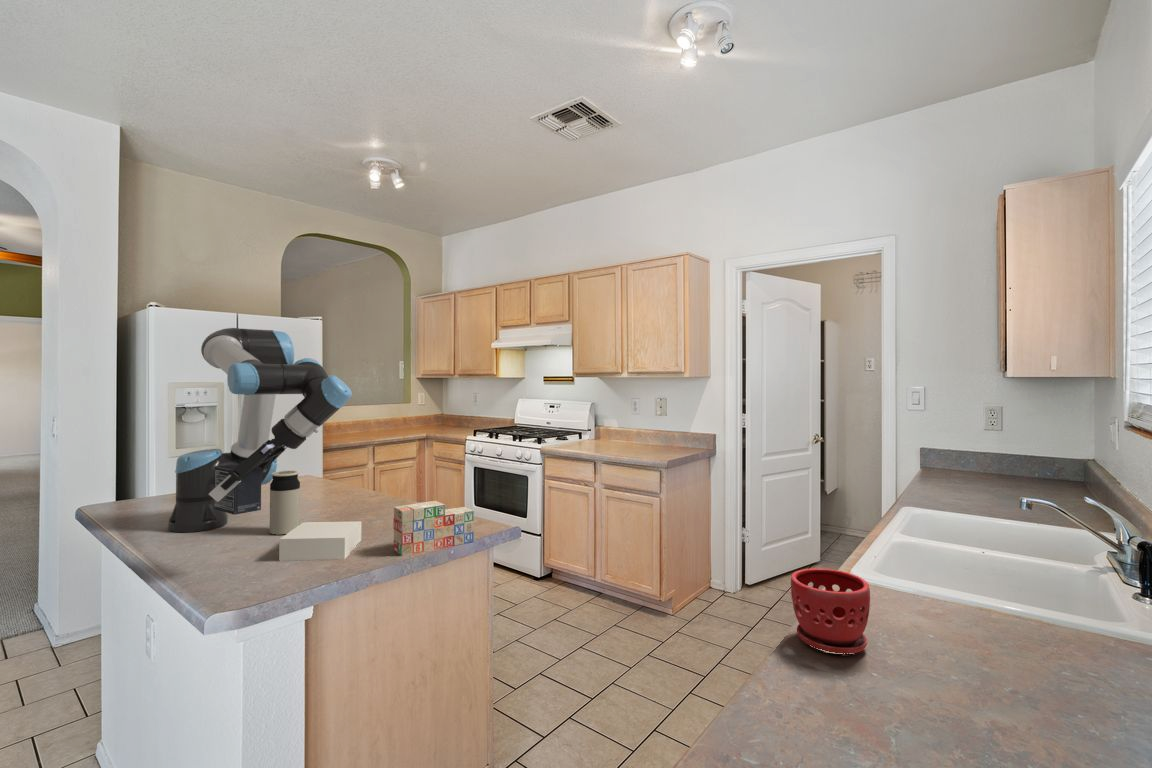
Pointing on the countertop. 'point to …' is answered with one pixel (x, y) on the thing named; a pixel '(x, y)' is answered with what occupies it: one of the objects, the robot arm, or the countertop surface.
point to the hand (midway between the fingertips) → (225, 492)
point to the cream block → (320, 541)
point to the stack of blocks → (431, 527)
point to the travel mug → (284, 502)
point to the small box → (239, 491)
